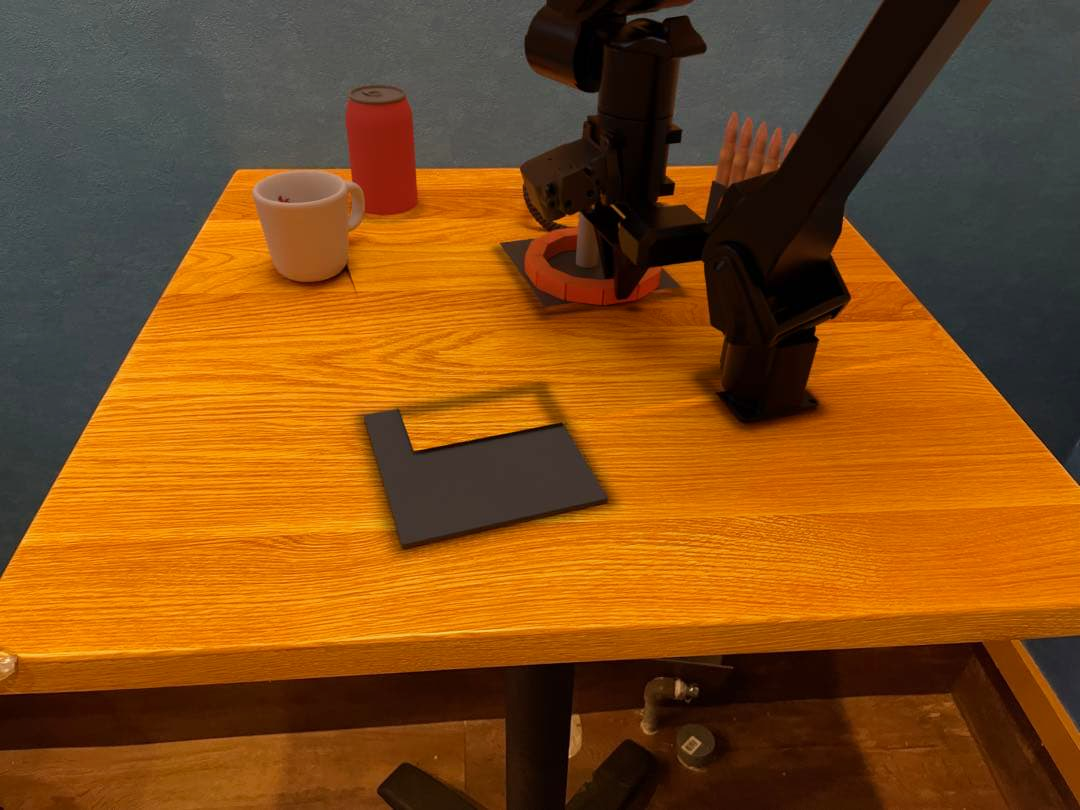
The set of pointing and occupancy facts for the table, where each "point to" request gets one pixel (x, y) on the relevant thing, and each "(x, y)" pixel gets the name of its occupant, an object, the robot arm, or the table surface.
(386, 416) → the mat
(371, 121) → the beer can
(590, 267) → the stake
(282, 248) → the cup
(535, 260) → the ring
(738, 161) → the ammunition clip
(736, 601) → the table surface
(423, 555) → the table surface
